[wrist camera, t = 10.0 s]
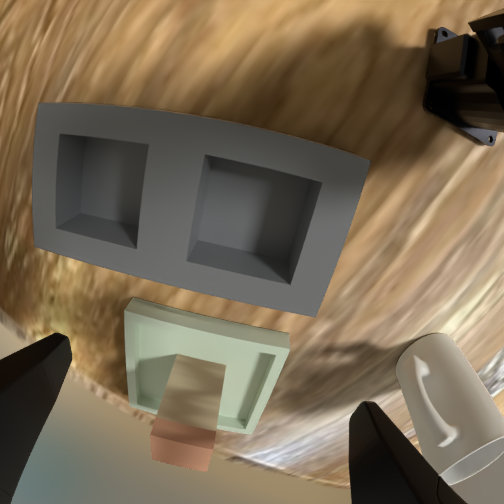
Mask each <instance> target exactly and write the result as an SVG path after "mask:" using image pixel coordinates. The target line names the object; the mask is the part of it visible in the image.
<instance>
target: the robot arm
mask: <svg viewBox="0 0 504 504" xmlns="http://www.w3.org/2000/svg"><path fill="white" fill-rule="evenodd" d="M468 24H469V26H470V27H471V29H472V31H473V32H476V34H475V35H472V36H470V35H469V34H463V35H460V36H458V35H456V34H455V33H453V32H451V31H450V30H448V29H446V28H444V27H440V28H438V29H437V30H436V33H435V40H434V44H433V45H431V50H430V56H429V61H428V67H427V72H426V78H427V85H426V90H425V94H424V99H423V108H424V110H425V111H426V112H427V113H429V114H431V115H433V116H435V117H437V118H439V119H441V120H443V121H445V122H447V123H449V124H451V125H453V126H454V127H456V128H458V129H460V130H462V131H463V132H465V133H467V134H469V135H470V136H472V137H474V138H475V139H477V140H479V141H480V142H482V143H484V144H485V145H487V146H493V145H494V144H495V141H496V136H497V132H503V133H504V8H503V9H501V10H498V11H495V12H493V13H490V14H488V15H485V16H483V17H480V18H478V19H476V20H473V21H471V22H468ZM442 32H443V33H444V35H445V37H444V36H443V35H442ZM429 102H431V104H432V108H431V109H430V108H429ZM489 137H490V141H489V140H488V138H489ZM71 362H72V351H71V346H70V341H69V338H68V337H67V336H65V335H63V334H61V333H54V334H52V335H50V336H48V337H45V338H43V339H41V340H39V341H37V342H35V343H33V344H31V345H29V346H27V347H25V348H23V349H21V350H19V351H17V352H15V353H13V354H11V355H9V356H7V357H5V358H3V359H1V360H0V504H11V501H12V497H13V495H14V493H15V490H16V487H17V485H18V482H19V480H20V477H21V475H22V472H23V470H24V468H25V465H26V463H27V461H28V458H29V456H30V453H31V452H32V449H33V447H34V445H35V443H36V441H37V439H38V436H39V434H40V432H41V430H42V428H43V426H44V424H45V422H46V420H47V418H48V416H49V414H50V412H51V410H52V408H53V406H54V404H55V402H56V399H57V397H58V394H59V392H60V389H61V387H62V384H63V382H64V379H65V377H66V374H67V372H68V369H69V367H70V364H71ZM349 474H350V486H351V499H352V504H467V503H466V502H465V501H464V500H463V499H462V498H461V497H460V496H459V495H458V494H457V493H456V492H455V491H454V490H453V489H452V488H451V487H450V486H449V485H448V484H447V483H446V482H445V481H444V480H443V478H442V477H441V476H439V474H438V473H437V472H436V471H435V469H434V468H433V467H432V466H431V465H430V464H429V463H428V462H427V460H426V459H425V458H424V457H423V456H422V455H421V454H420V453H419V451H418V450H417V449H416V448H415V447H414V446H413V445H412V443H411V442H410V441H409V440H408V439H407V438H406V437H405V435H404V434H403V433H402V432H401V431H400V430H399V429H398V428H397V426H396V425H395V424H394V423H393V422H392V421H391V420H390V418H389V417H388V416H387V415H386V414H385V413H384V412H383V410H382V409H381V408H380V407H379V406H378V405H377V404H376V403H375V402H371V401H363V402H361V403H360V405H359V406H358V407H357V409H356V410H355V411H354V413H353V414H352V415H351V417H350V421H349Z"/></svg>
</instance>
